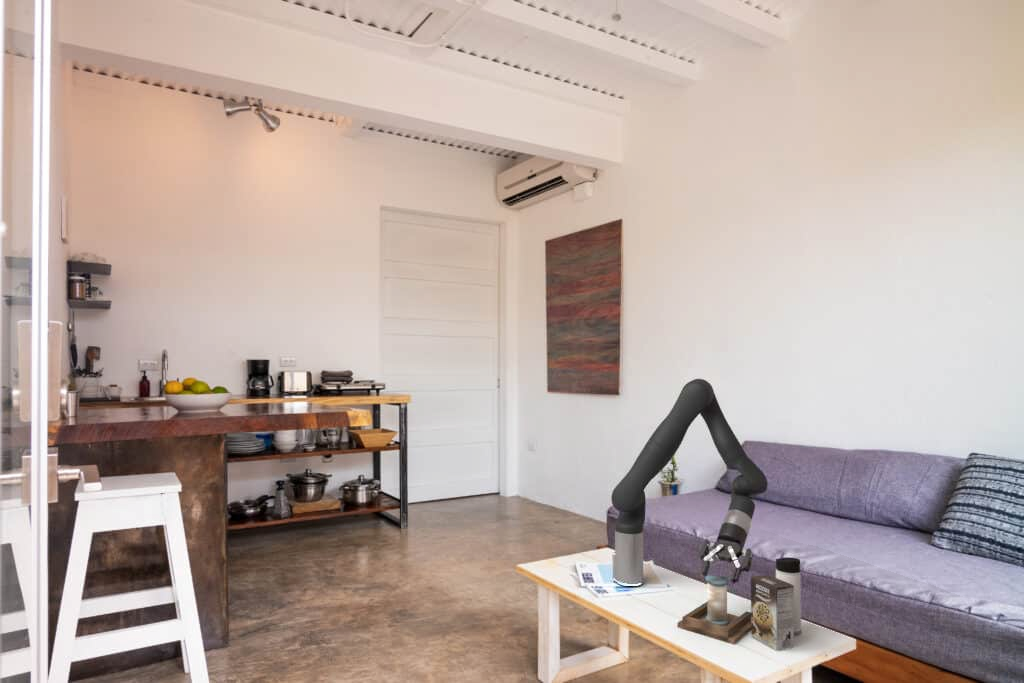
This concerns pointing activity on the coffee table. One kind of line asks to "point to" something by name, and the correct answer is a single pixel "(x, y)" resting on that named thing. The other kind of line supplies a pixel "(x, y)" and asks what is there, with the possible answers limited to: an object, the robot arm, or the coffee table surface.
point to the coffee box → (772, 612)
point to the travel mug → (791, 574)
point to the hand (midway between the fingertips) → (718, 578)
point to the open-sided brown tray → (728, 633)
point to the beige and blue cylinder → (717, 600)
